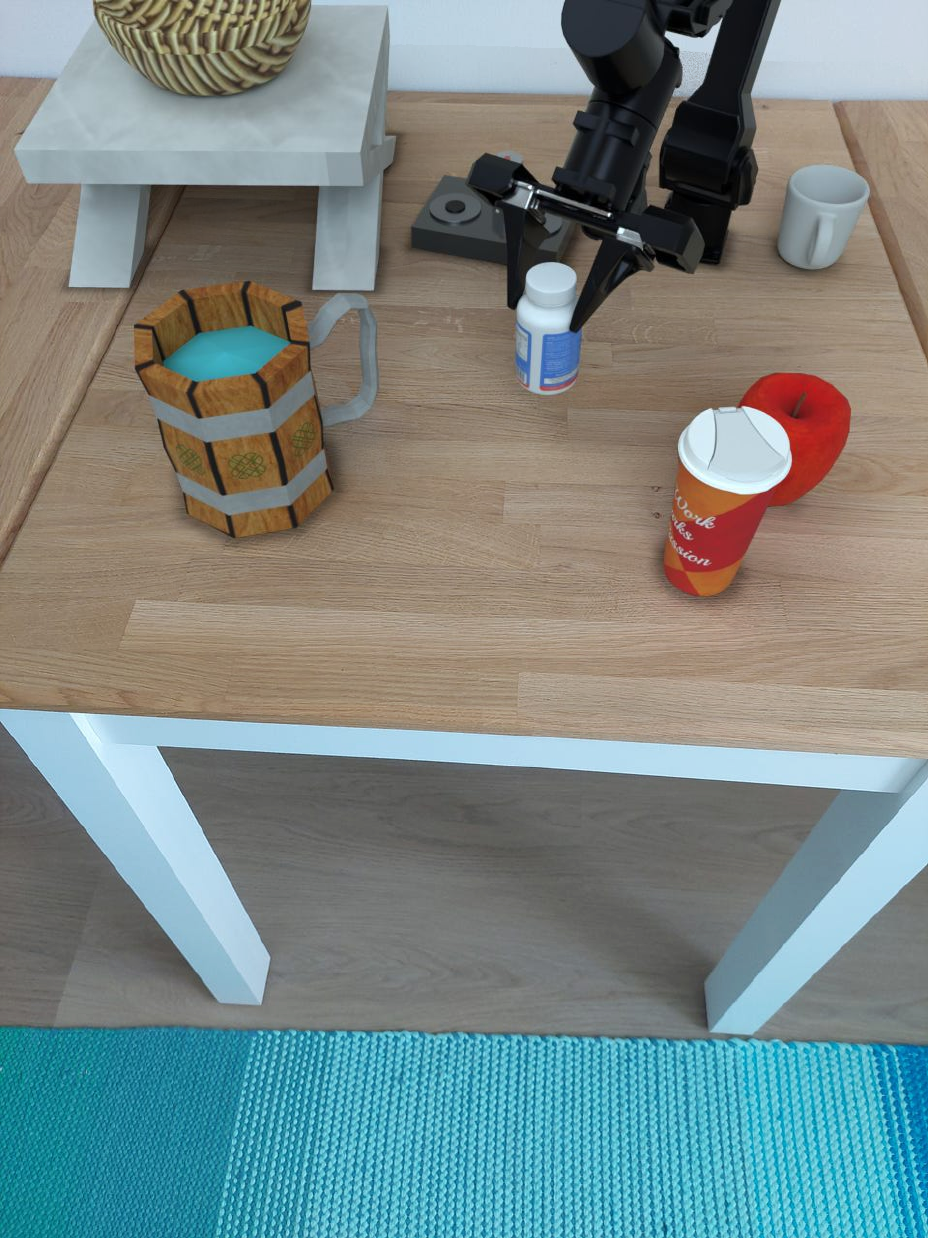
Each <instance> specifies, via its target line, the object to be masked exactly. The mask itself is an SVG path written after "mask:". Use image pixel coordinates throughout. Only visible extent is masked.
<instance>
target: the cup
mask: <svg viewBox="0 0 928 1238" xmlns="http://www.w3.org/2000/svg"><path fill="white" fill-rule="evenodd" d="M870 188H871V187H870V185H869V183H868V182H867V180H866V179H865V178H864V177H863V176H861V175H860V174H859V173H857V172H856V171H853V170H851V169H848V168H846V167H843V166H839V165H833V164H823V163H822V164H819V163H818V164H811V165H806V166H803V167H800V168H798V169H796V170H795V171H793V173H791V175H790V176H789V178H788V181H787V184H786V191H785V195H784V202H783V208H782V213H781V218H780V223H779V224H780V225H779V232H778V237H777V250H778V253H779V255H780V257H781V258H782V259H783V260H784V261H785V262H786V263H788V264H790V265H791V266H794V267H796V268H800V269H804V270H823V269H826V268H828V267H831V266H832V265H833V264H835V263H837V261H838V259H839V258H840V257H841V256H842V254H843V252H844V251H845V248H846V246H847V244H848V243H849V240H850V238H851V235H852V234H853V231H854V229H855V227H856V225H857V223H858V221H859V220H860V217H861V215H862V213H863V211H864V208H865V206H866V205H867V202H868V200H869V197H870V194H871V189H870Z"/></svg>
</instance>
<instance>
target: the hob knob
mask: <svg viewBox="0 0 928 1238" xmlns="http://www.w3.org/2000/svg"><path fill="white" fill-rule="evenodd" d="M494 155H495V156H499V157H502V158H505V159H508V160H511V161H514V162H518V163H521V164H523V165H524V157H523V156H522V155H521V154H520V153H518V152H516V151H512V150H511V151H510V150H504V151H500V152H497V153H496V154H494Z"/></svg>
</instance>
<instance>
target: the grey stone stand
mask: <svg viewBox="0 0 928 1238" xmlns="http://www.w3.org/2000/svg"><path fill="white" fill-rule="evenodd" d="M92 9H93V10H92V11H93V16H94V19H93V21H92V23H90V26H89V27H88V29H87V30H86V32H85V34H84V35H83V37H82V38H81V40H80V42H79V43H78V45H77V46H76V48H75V50H74V52H73V53H72V55H71V56H70V58H69V59H68V60H67V63H66V64H65V66H64V68H63V69H62V71H61V72H60V74H59V76H58V77H57V78H56V80H55V82H54V84H53V85H52V87H51V88H50V90H49V91H48V93H47V95H46V97H45V99H44V100H43V101H42V103H41V105H40V106H39V108H38V110H37V111H36V113H35V114H34V116H33V118H32V119H31V120H30V122H29V124H28V125H27V127H26V129H25V130H24V132H23V133H22V135H21V137H20V139H19V140H18V141H17V143H16V145H15V147H14V148H13V152H14V154H15V157H16V160H17V163H18V164H19V167H20V169H21V171H22V174H23V177H24V179H25V182H26V184H57V185H58V184H68V185H71V184H73V185H79V184H80V185H81V188H80V197H79V204H78V213H77V220H76V227H75V234H74V243H73V248H72V258H71V259H72V260H71V266H70V274H69V280H68V288H112V289H113V288H114V289H115V288H119V289H120V288H122V289H123V288H124V289H126V288H128V289H130V286H131V284H132V283H133V282H132V281H133V280H134V277H135V274H136V272H137V270H138V267H139V265H140V263H141V260H142V257H143V255H144V252H145V244H146V234H147V225H148V217H149V207H150V201H151V200H150V199H151V192H152V191H151V190H152V185H175V186H176V185H180V186H181V185H183V186H184V185H185V186H187V185H190V186H192V185H193V186H194V185H197V186H198V185H199V186H295V187H297V186H299V187H300V186H303V187H304V186H306V187H308V186H309V187H311V186H312V187H313V186H314V187H316V186H317V187H318V198H317V199H318V200H317V214H316V215H317V216H316V217H317V218H316V230H315V243H314V244H315V245H314V261H313V262H314V263H313V276H312V288H311V289H312V291H375V285H376V278H377V272H378V266H379V260H380V259H379V258H380V246H381V245H380V244H381V222H382V205H383V204H382V202H383V186H384V184H383V183H384V171H385V169H388V167H389V166H391V165H392V164H393V163H394V156H395V149H396V144H397V143H396V141H397V135H386V125H387V106H388V105H387V104H388V84H389V66H390V65H389V64H390V48H391V47H390V45H391V32H390V17H389V16H390V15H389V5H385V4H384V5H383V4H382V5H379V4H377V5H376V4H373V5H372V4H370V5H369V4H368V5H367V4H365V5H364V4H312V0H92Z"/></svg>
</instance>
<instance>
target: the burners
mask: <svg viewBox="0 0 928 1238" xmlns="http://www.w3.org/2000/svg"><path fill="white" fill-rule="evenodd" d="M429 209H430V214H431V215H432V216H433V217H434V218H435V219H436V220H438V221H441V222H444V223H449V224H461V223H466V222H469V221H472V220H474V219H475V218H477V217H478V216H479V214H480V212H481V204H480V202H479V201H478V200H477V199H476V198H474V197H472V196H470V195H466V194H460V193H451V194H445V195H442V196H439V197H437V198H436V199H434V200H433V201H432V202H431V204H430V207H429ZM541 224H542V225H543V226H544V227H545V228H546V229H547V230H548V231H549V232H550V234H549V235H548V236H551V235H553V234H555V233H557V232H558V231H559V230H560V228H561V226H562V218H560V217H557V216H554V215H551V214H548V213H545V216H544V217H543V219H542V221H541ZM548 236H547V237H548Z"/></svg>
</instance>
